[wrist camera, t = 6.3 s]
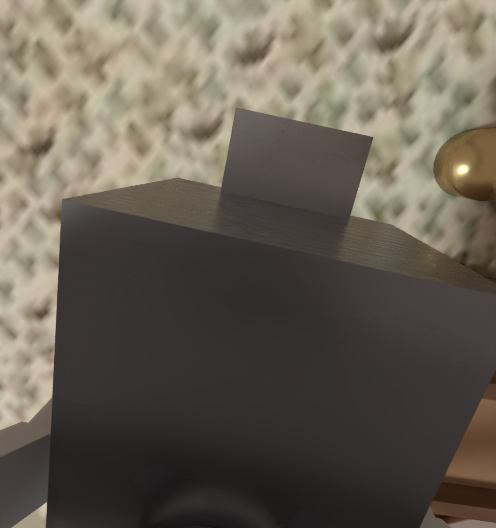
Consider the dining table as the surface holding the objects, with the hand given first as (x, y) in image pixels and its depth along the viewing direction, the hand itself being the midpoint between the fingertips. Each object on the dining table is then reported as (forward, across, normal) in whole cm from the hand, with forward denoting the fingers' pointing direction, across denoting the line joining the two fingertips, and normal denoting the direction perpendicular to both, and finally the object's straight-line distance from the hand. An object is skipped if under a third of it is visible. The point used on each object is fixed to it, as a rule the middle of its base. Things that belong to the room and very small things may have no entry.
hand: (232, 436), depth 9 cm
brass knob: (+20, -13, -9) cm, 25 cm away
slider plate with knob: (+2, 0, 0) cm, 2 cm away
